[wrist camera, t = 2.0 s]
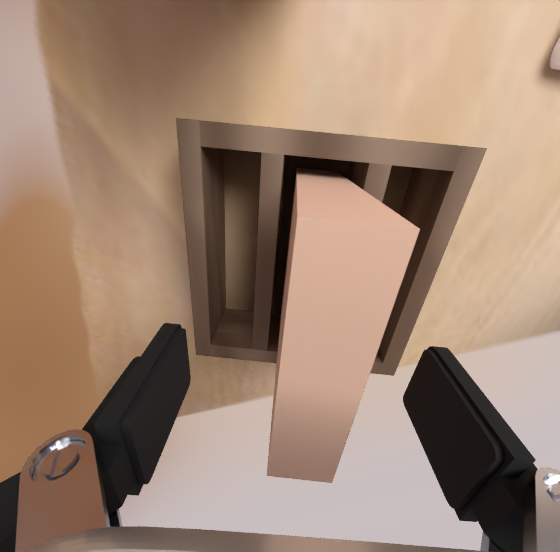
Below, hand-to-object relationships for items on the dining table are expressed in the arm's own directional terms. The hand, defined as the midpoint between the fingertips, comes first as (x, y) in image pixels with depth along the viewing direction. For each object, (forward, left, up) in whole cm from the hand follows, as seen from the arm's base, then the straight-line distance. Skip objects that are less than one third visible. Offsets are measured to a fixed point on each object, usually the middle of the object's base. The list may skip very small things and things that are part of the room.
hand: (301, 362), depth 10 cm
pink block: (-1, 0, -13) cm, 13 cm away
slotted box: (-1, 0, -13) cm, 13 cm away
